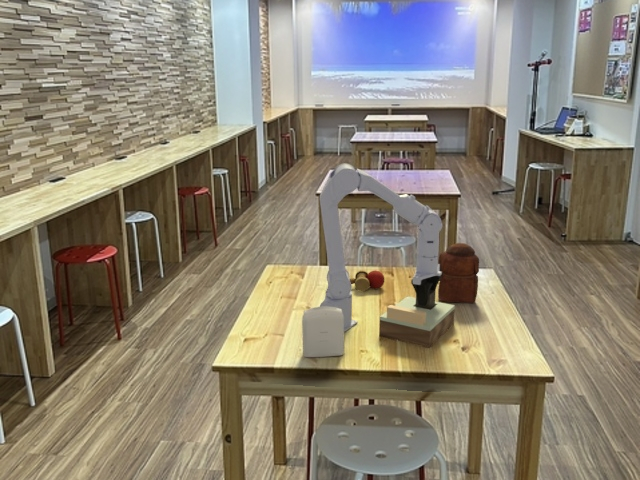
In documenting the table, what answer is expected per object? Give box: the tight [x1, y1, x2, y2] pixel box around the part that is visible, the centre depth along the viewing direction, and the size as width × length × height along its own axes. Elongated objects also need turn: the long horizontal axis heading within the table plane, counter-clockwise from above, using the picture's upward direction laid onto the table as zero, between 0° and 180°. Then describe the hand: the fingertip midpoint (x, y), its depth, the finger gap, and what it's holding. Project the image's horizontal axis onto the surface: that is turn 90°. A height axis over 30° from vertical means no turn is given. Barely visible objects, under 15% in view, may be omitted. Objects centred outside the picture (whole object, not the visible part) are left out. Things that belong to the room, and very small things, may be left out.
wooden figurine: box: [437, 242, 480, 304], centre depth 186 cm, size 12×6×18 cm, turn 85°
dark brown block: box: [415, 290, 437, 310], centre depth 169 cm, size 4×4×6 cm
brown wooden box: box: [378, 309, 455, 349], centre depth 166 cm, size 18×14×4 cm
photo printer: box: [301, 306, 345, 358], centre depth 150 cm, size 10×4×12 cm, turn 96°
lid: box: [379, 295, 456, 331], centre depth 164 cm, size 18×14×4 cm
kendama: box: [349, 269, 385, 292], centre depth 199 cm, size 8×6×18 cm
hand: (425, 302), depth 169 cm, fingers closed on dark brown block, 4 cm apart
